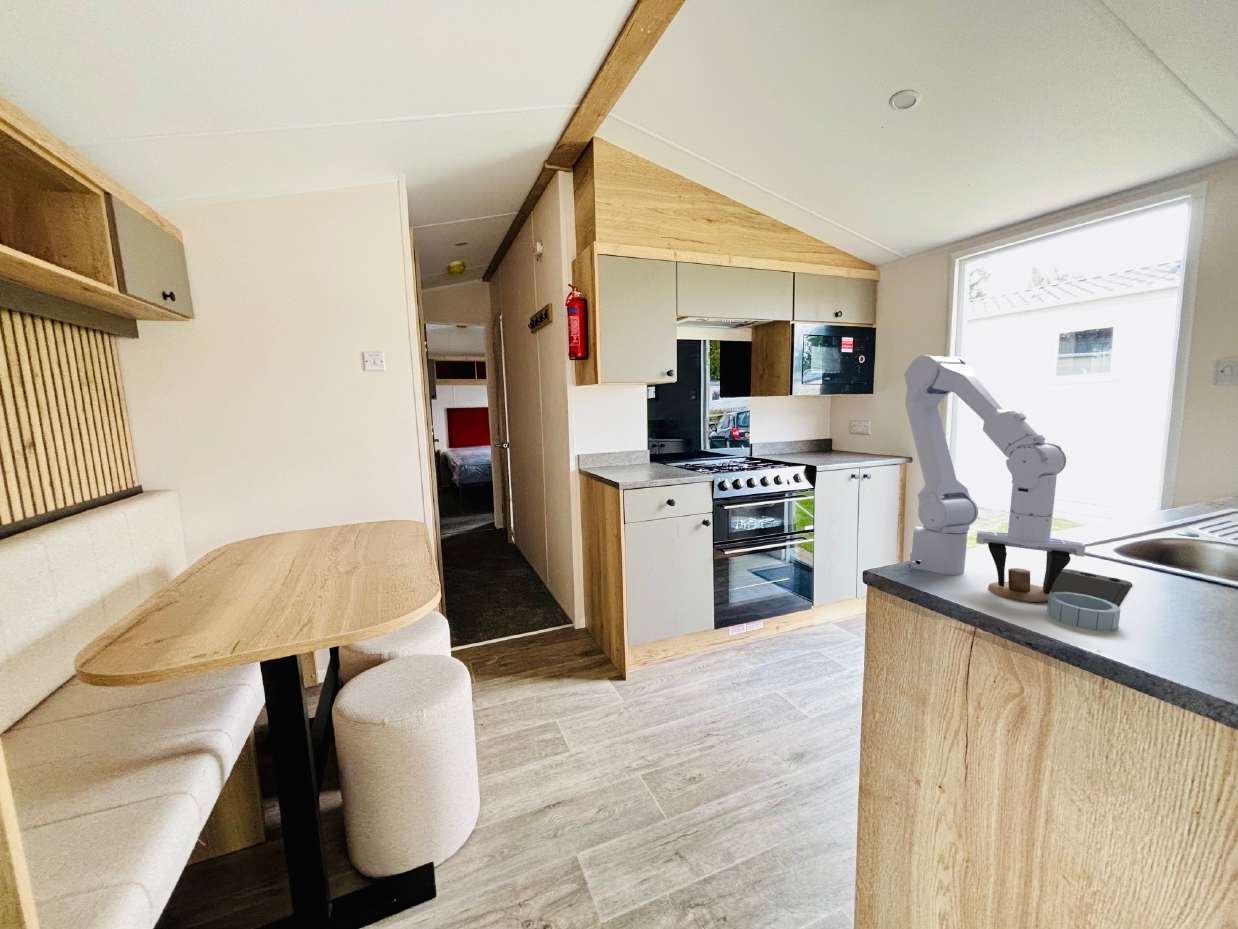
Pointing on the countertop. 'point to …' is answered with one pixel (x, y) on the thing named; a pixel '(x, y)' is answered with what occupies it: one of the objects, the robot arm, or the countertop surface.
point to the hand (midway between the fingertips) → (1023, 588)
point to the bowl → (1083, 611)
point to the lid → (1019, 587)
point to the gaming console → (1091, 585)
